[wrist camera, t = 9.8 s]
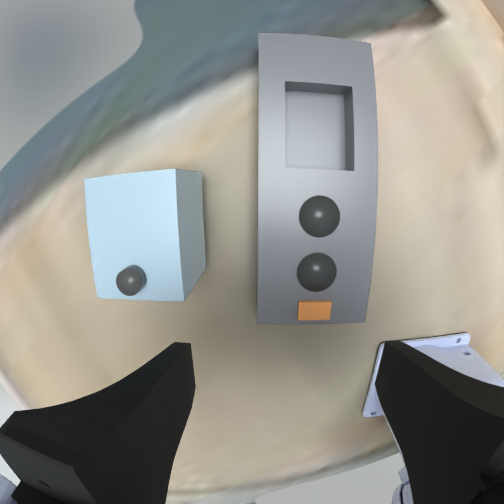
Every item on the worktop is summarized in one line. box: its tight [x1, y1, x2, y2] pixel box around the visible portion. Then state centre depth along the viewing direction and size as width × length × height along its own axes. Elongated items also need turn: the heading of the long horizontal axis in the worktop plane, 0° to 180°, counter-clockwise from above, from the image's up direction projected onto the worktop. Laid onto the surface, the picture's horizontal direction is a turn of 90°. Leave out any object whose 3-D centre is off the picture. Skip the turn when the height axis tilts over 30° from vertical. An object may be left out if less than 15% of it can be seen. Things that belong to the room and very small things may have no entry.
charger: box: [85, 169, 206, 301], centre depth 16 cm, size 5×6×8 cm
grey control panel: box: [257, 33, 378, 324], centre depth 17 cm, size 7×18×3 cm, turn 0°
